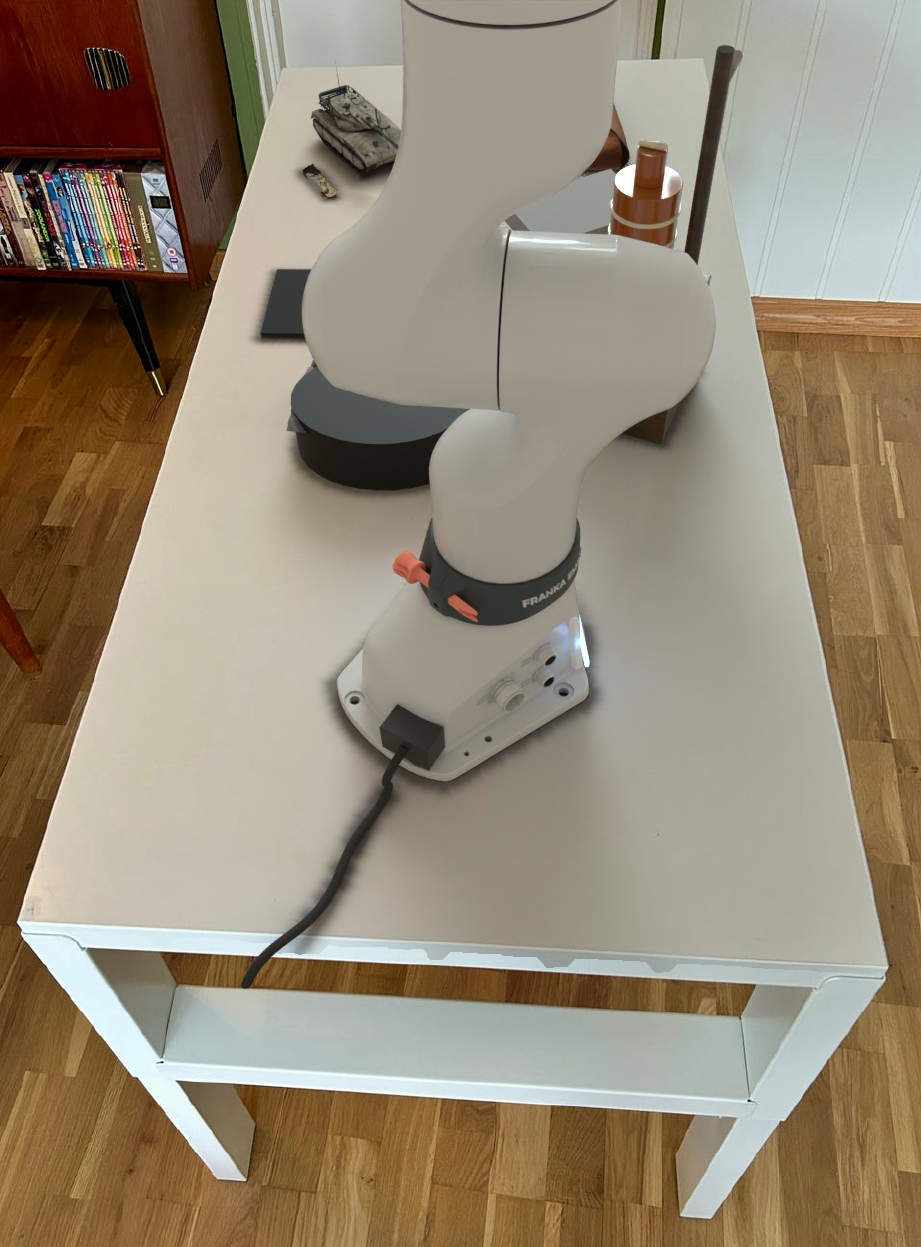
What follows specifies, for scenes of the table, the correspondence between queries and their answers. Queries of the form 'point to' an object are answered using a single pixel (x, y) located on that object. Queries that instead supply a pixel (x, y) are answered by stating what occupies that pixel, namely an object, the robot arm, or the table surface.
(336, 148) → the toy tank
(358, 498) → the table surface
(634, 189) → the brown banded bottle
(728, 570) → the table surface
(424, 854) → the table surface
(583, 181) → the grey rectangular block
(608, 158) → the sunglasses case
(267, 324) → the rubber mat
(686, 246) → the hanger rack
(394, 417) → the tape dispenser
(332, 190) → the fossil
